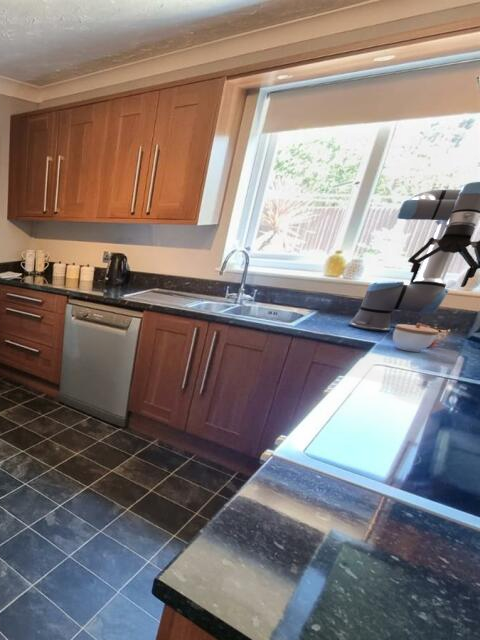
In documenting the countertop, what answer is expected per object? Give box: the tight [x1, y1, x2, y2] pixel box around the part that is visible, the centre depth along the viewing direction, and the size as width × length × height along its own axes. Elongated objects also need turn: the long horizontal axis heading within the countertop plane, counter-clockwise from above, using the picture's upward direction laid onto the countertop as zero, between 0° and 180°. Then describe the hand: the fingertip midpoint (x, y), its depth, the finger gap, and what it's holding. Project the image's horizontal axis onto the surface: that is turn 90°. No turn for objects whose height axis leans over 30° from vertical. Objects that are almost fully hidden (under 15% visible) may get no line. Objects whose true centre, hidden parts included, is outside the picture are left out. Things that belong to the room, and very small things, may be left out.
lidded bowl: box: [392, 322, 440, 353], centre depth 174 cm, size 13×13×11 cm
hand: (436, 283), depth 160 cm, fingers open, 13 cm apart
